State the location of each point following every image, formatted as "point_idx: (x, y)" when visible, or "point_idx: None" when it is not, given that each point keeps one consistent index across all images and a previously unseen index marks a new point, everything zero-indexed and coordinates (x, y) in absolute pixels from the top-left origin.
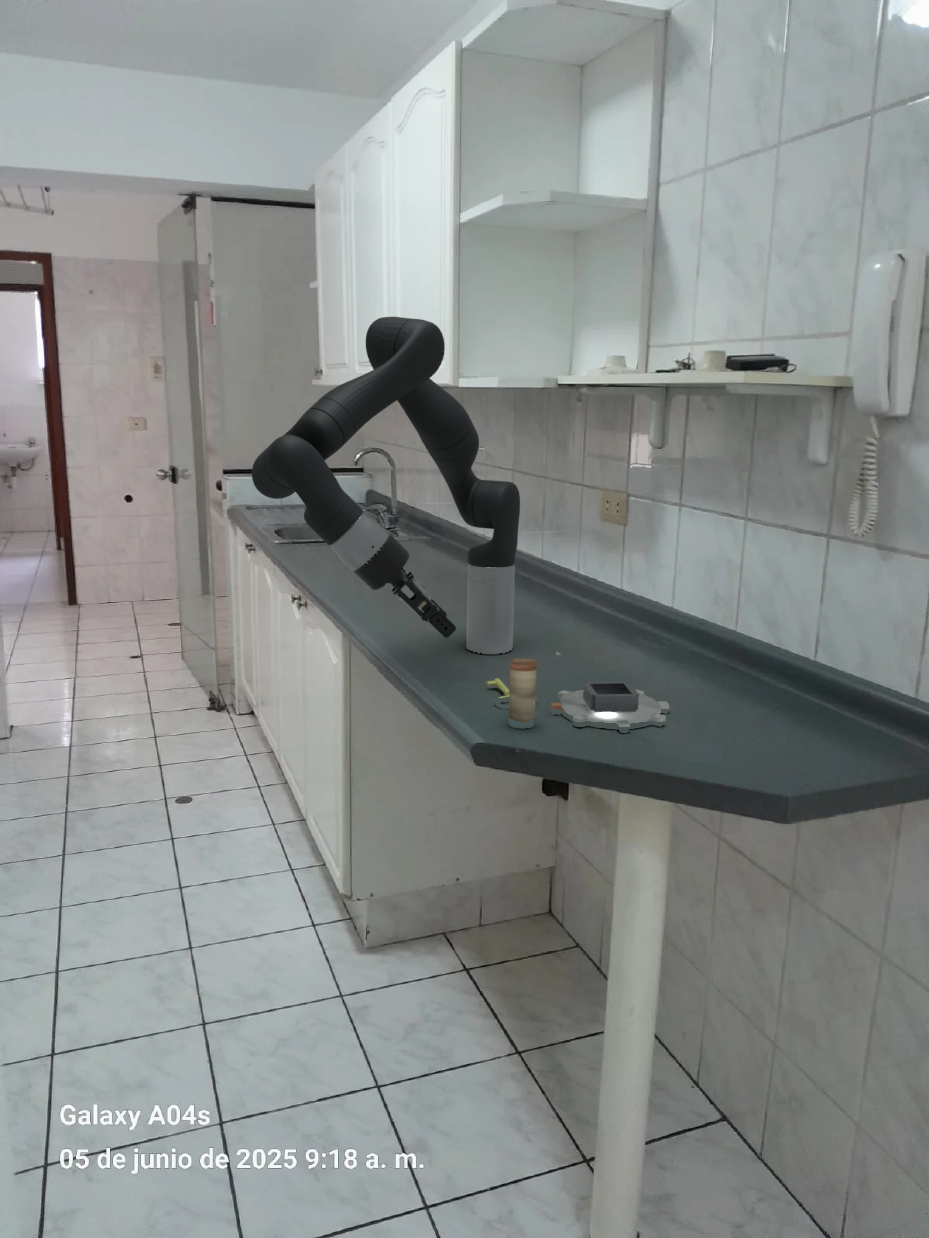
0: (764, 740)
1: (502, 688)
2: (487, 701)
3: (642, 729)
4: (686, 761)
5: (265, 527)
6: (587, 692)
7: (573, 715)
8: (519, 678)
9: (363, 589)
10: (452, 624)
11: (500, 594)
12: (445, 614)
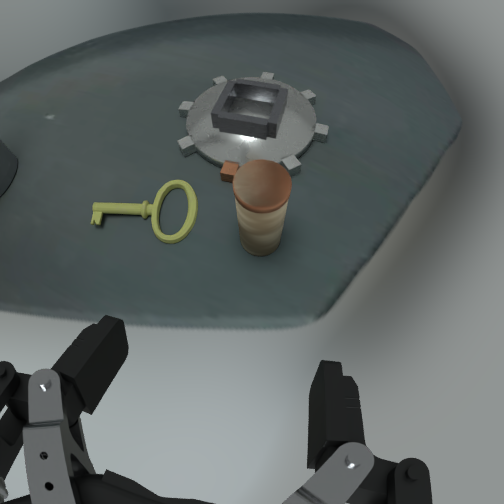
0: (359, 64)
1: (124, 210)
2: (143, 246)
3: (316, 118)
4: (406, 132)
5: None
6: (243, 124)
7: None
8: (283, 211)
9: None
10: (341, 376)
11: None
12: (119, 324)
